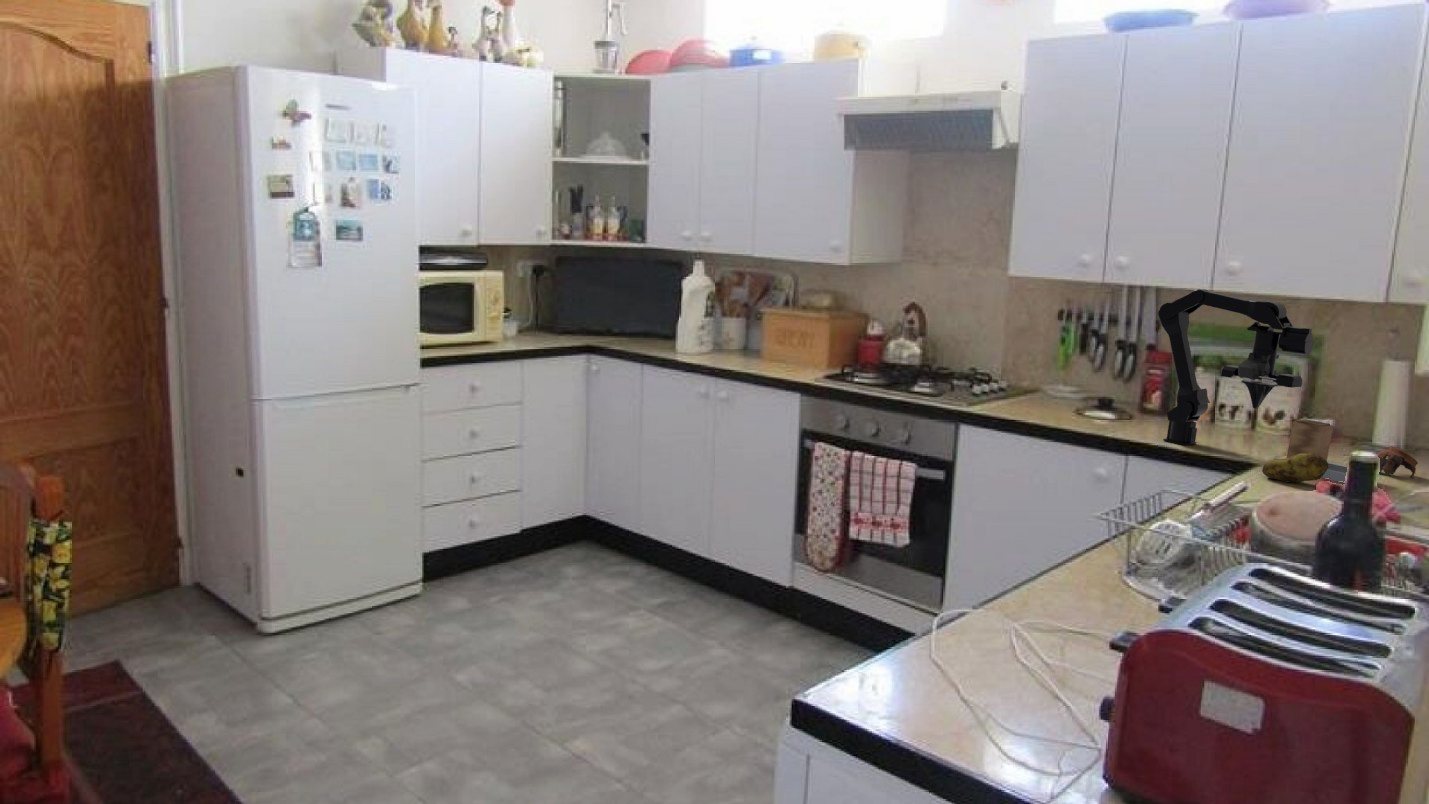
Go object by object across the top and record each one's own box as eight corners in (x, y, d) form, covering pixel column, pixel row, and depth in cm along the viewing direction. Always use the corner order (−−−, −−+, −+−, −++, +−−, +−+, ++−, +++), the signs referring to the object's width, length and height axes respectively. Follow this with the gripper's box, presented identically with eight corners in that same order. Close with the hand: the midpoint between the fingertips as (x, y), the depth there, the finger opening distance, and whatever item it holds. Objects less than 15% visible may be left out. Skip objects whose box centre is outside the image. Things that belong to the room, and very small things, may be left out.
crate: (1284, 467, 260) (1292, 419, 258) (1295, 465, 264) (1303, 418, 262) (1313, 474, 255) (1322, 425, 252) (1324, 472, 258) (1333, 424, 256)
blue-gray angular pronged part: (1272, 467, 260) (1276, 440, 259) (1292, 464, 267) (1296, 437, 265) (1350, 485, 246) (1355, 457, 245) (1369, 481, 252) (1374, 453, 251)
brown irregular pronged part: (1363, 469, 269) (1385, 444, 267) (1399, 492, 264) (1421, 466, 263) (1366, 465, 258) (1389, 439, 257) (1403, 488, 254) (1426, 462, 252)
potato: (1275, 475, 252) (1281, 443, 250) (1329, 488, 241) (1335, 455, 240) (1256, 478, 247) (1262, 445, 246) (1311, 491, 237) (1317, 458, 235)
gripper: (1214, 345, 270) (1205, 403, 273) (1286, 355, 255) (1276, 417, 258) (1235, 344, 277) (1226, 401, 279) (1307, 354, 262) (1297, 414, 265)
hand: (1255, 408), depth 270 cm, fingers closed
